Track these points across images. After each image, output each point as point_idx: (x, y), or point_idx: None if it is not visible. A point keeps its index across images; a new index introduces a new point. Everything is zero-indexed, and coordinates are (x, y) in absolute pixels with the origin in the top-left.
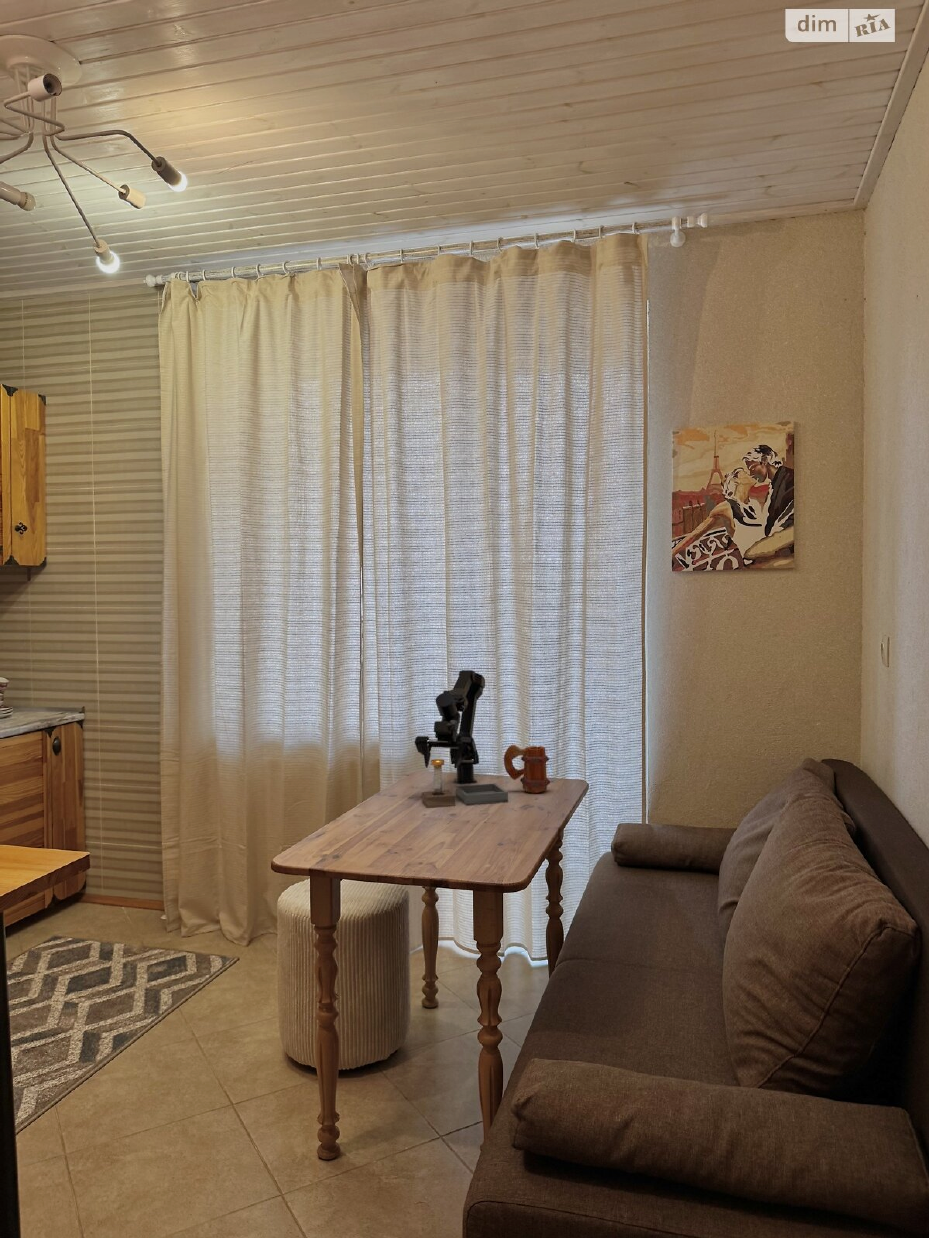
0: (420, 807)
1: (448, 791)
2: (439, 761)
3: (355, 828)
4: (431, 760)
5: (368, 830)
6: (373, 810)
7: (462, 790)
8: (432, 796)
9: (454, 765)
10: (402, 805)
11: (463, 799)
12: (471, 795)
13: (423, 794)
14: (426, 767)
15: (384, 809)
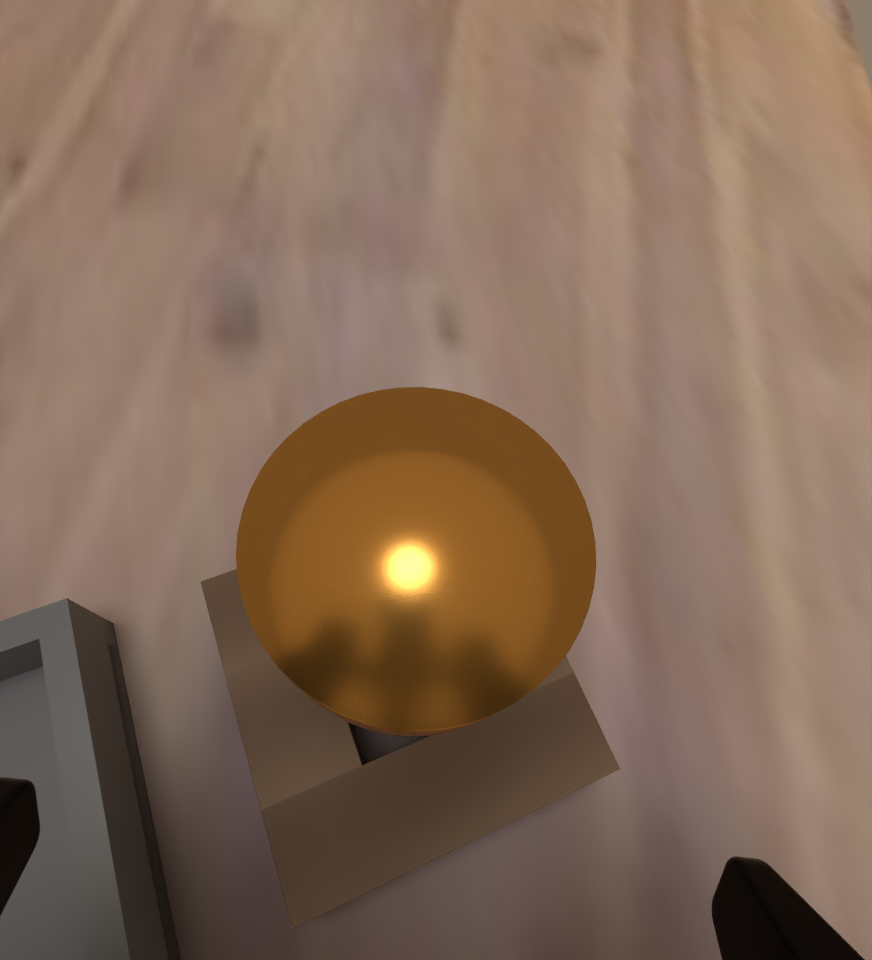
0: None
1: (288, 819)
2: (346, 407)
3: (746, 90)
4: (580, 535)
5: (664, 63)
6: (866, 430)
7: (91, 905)
8: None
9: (9, 793)
10: (718, 599)
11: (123, 738)
12: (3, 623)
13: (574, 683)
14: (725, 893)
15: (801, 460)
